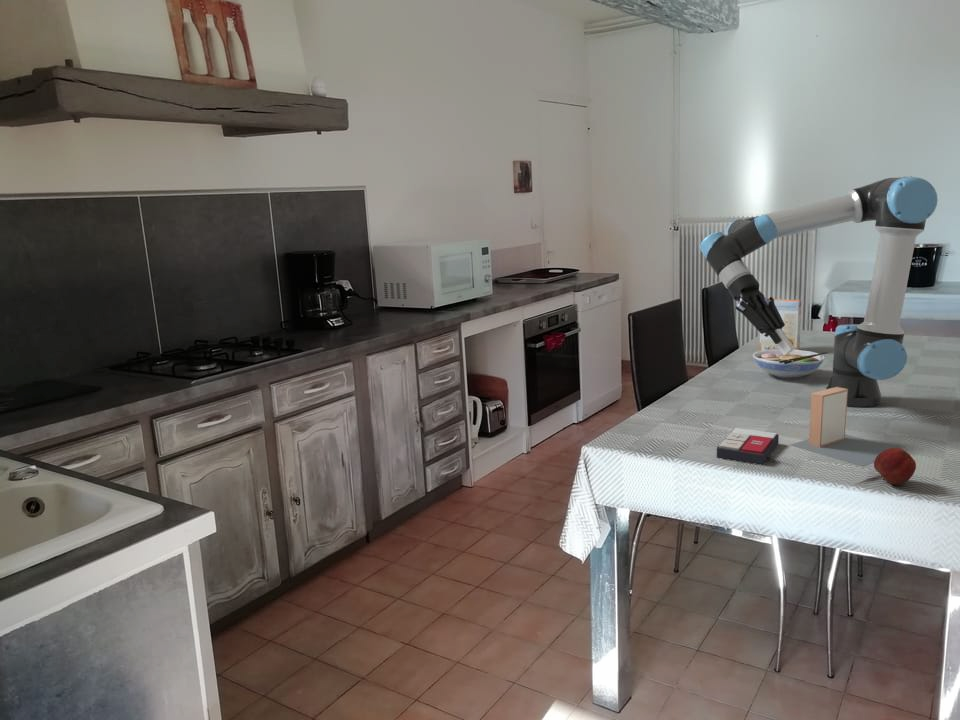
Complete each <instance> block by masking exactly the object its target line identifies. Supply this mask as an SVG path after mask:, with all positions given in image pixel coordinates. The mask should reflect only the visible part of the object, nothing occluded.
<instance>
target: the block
mask: <svg viewBox="0 0 960 720" xmlns="http://www.w3.org/2000/svg"><path fill="white" fill-rule="evenodd" d="M847 397H848V389H845V388H840V387H834V388H830V389H826V388H825V389H823V390H818V391H815V392H811V397H810V412H809V413H810V414H809V428H808V429H809V430H808V431H809V433H808V439H809V444H810V445H813V446H817V447H822V446H825V445H829V444H832V443H835V442H838V441H841V440H845V434H846V425H847V410H848V409H847V408H848V406H847Z"/></svg>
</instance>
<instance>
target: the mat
mask: <svg viewBox="0 0 960 720" xmlns="http://www.w3.org/2000/svg"><path fill="white" fill-rule="evenodd" d="M791 446H792V447H794V448H799V449H802V450H805V451H809V452H812V453H816V454H819V455H822V456H825V457H829V458H833V459H835V460H839V461H844V462H846V463H849V464H853V465H857V466H860V467H865V466H867V465H870V464H874V461H875V459H876V457H877V456H878V455H879V454H880V453H881V452H883V451H885V450H887V449H890V448H896V446H893V445H888V444H884V443H881V442H877V441H873V440H869V439H865V438H862V437H858V436H854V435H850V434H846V433H845V440H841V441H838V442H835V443H832V444H829V445H825V446H822V447H817V446H813V445H810V444H809V438H807V439H803V440H800V441H798V442H794V443H791V444H790V447H791ZM901 449H902V450H904V451H906V452H908V449H903V448H901Z"/></svg>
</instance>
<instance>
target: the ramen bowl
mask: <svg viewBox="0 0 960 720" xmlns="http://www.w3.org/2000/svg"><path fill="white" fill-rule="evenodd" d="M826 354H828V352H826V351H825V352H821V353H818V352H814V351H809V350H801V349H799V350H793V351H792V352H791V353H789V354H788V355H785V356H784V355H783V353H782V352H781V351H780V349H771V350H762V351H759V350H758V351H756V352H753V354H752V357H753V359H754V361H755V363H756V364H757V366H758V367H759V368H760V369H762V370H763V371H764V372H766V373H768V374H770V375H772V376H775V377H776V378H778V377H779V379H783V378H784V379H786V380H794V379H795V378H796V379H799V378H801V377H804V376H807V375H809V374H811V373H813V372H815V371H816V370H817V369H818V368H819V367H820V366H821V365H822V363H823V362H824V360H825V355H826Z"/></svg>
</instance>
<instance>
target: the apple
mask: <svg viewBox="0 0 960 720" xmlns="http://www.w3.org/2000/svg"><path fill="white" fill-rule="evenodd" d="M895 447H896V446H895ZM902 449H903V448H900V447H896V448H890V449H887V450H885V451H883V452H881V453H880V454H879V455H878V456H877V457H876V459H875V461H874V462H873V467H874V469H875V471H876V472H878V473H879V475H880V476H881V478H882V481H885V482H887V483H888V484H890V485H894V486H895V485H896V486H897V485H898V486H899V485H903V484H905V483H906V482H908V481H909V480H910V479H911V478H912V477H913V476H914V474H915V472H916V469H917V463H916V460H915V459H914V458H913V457H912V456H911V455H910V453H908V451H904V450H905V449H904V450H902Z"/></svg>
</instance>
